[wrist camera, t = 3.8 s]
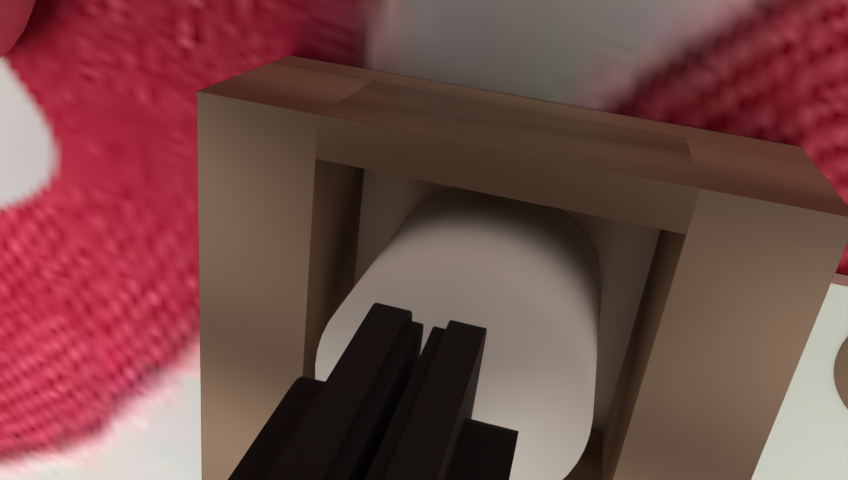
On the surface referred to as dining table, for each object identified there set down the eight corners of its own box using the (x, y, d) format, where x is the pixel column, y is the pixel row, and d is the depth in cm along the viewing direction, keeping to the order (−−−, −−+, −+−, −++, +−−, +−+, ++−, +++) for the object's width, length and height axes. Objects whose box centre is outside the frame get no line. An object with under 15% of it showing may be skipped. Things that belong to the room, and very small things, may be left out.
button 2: (399, 162, 16) (323, 241, 12) (625, 207, 15) (624, 309, 11) (379, 348, 18) (308, 469, 14) (576, 397, 17) (561, 541, 13)
